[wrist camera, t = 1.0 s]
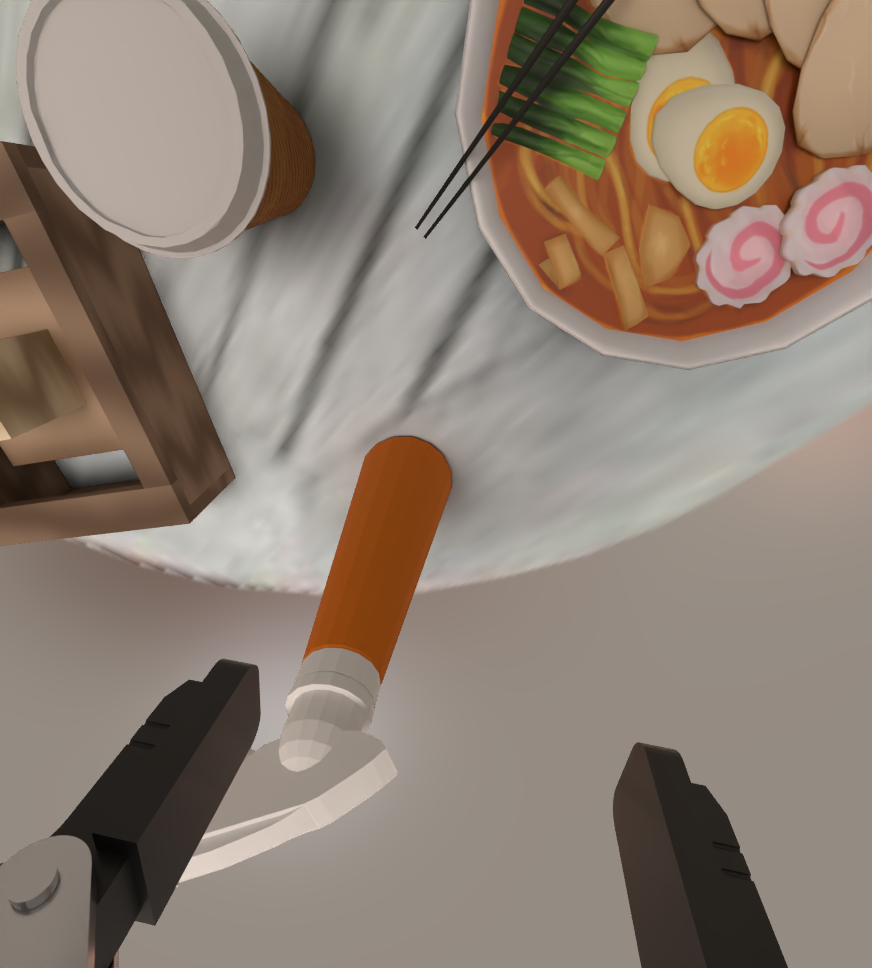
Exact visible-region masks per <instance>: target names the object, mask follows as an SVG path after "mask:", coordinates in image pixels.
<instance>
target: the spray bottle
mask: <svg viewBox="0 0 872 968" xmlns="http://www.w3.org/2000/svg"><path fill="white" fill-rule="evenodd" d="M451 488H452V479H451V470H450V468H449V466H448V464H447V462H446V460H445V458H444V456H443V455H442V454H441V453H440V452H439V451H438V450H437V449H435V448H434V447H433V446H432V445H431V444H430V443H428V442H425V441H422V440H419V439H417V438H414V437H392V438H389V439H387V440H385V441H382V442H380V443H378V444H376V445H375V446H374V447H373V448H372V449H371V451H370V452H369V453H368V454H367V455H366V456H365V459H364V462H363V465H362V469H361V472H360V475H359V478H358V482H357V485H356V488H355V492H354V495H353V498H352V501H351V505H350V508H349V511H348V514H347V518H346V521H345V524H344V527H343V531H342V534H341V537H340V540H339V544H338V547H337V550H336V553H335V557H334V560H333V563H332V566H331V570H330V573H329V576H328V580H327V583H326V586H325V589H324V593H323V596H322V599H321V602H320V606H319V609H318V612H317V615H316V619H315V622H314V625H313V628H312V632H311V635H310V639H309V642H308V645H307V648H306V651H305V654H304V658H303V661H302V664H301V667H300V670H299V672H298V674H297V677H296V679H295V681H294V684H293V686H292V688H291V691H290V693H289V695H288V699H287V702H286V705H285V708H286V711H287V714H288V718H287V720H286V723H285V726H284V728H283V731H282V734H281V737H280V739H278V740H276V741H273V742H270V743H268V744H265V745H263V746H262V747H260V748H259V749H258V750H256V751H255V750H252V749H251V748H250V749H249V751H248V753H247V755H246V757H245V759H244V761H243V763H242V764H241V766H240V768H239V770H238V772H237V774H236V776H235V777H234V779H233V781H232V783H231V785H230V787H229V789H228V791H227V792H226V794H225V796H224V798H223V800H222V802H221V804H220V806H219V807H218V809H217V811H216V813H215V815H214V817H213V819H212V820H211V822H210V824H209V826H208V828H207V830H206V832H205V834H204V835H203V837H202V839H201V841H200V843H199V845H198V847H197V848H196V850H195V852H194V854H193V856H192V858H191V860H190V862H189V863H188V865H187V867H186V869H185V871H184V873H183V875H182V876H181V878H180V880H179V882H178V884H177V886H176V888H177V887H179V884H180V882H183V881H186V880H189V879H192V878H195V877H198V876H201V875H205V874H208V873H211V872H214V871H217V870H220V869H223V868H226V867H229V866H231V865H233V864H236V863H238V862H240V861H243V860H245V859H247V858H250V857H252V856H255V855H257V854H259V853H262V852H264V851H266V850H269V849H271V848H273V847H276V846H277V845H280V844H282V843H284V842H286V841H288V840H289V839H292V838H294V837H297V836H299V835H301V834H304V833H307V832H309V831H313V830H316V829H319V828H322V827H324V826H325V825H327V824H330V823H332V822H333V821H335V820H337V819H338V818H340V817H341V816H343V815H344V814H346V813H347V812H349V811H350V810H351V809H353V808H354V807H356V806H357V805H359V804H360V803H362V802H363V801H364V800H366V799H368V798H369V797H370V796H372V795H373V794H375V793H376V792H377V791H378V790H380V789H381V788H382V787H384V786H385V785H386V784H387V783H388V782H389V781H390V780H392V779H393V778H394V777H395V776H396V775H397V774H398V772H397V770H396V768H395V766H394V764H393V762H392V760H391V758H390V755H389V753H388V751H387V749H386V747H385V746H384V744H383V743H382V741H380V740H379V739H377V738H375V737H373V736H372V735H369V734H367V733H366V732H367V731H368V728H369V726H370V724H371V722H372V717H373V713H374V709H375V705H376V701H377V697H378V692H379V688H380V685H381V683H382V681H383V678H384V675H385V673H386V670H387V667H388V664H389V661H390V659H391V656H392V653H393V650H394V647H395V644H396V642H397V639H398V636H399V633H400V631H401V628H402V625H403V622H404V619H405V617H406V614H407V611H408V608H409V605H410V603H411V600H412V597H413V594H414V591H415V589H416V586H417V583H418V580H419V577H420V575H421V572H422V569H423V566H424V563H425V561H426V558H427V555H428V552H429V549H430V547H431V544H432V541H433V538H434V535H435V533H436V530H437V527H438V524H439V521H440V519H441V516H442V513H443V510H444V507H445V505H446V502H447V499H448V496H449V493H450V491H451Z"/></svg>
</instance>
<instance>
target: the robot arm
mask: <svg viewBox="0 0 872 968" xmlns="http://www.w3.org/2000/svg"><path fill="white" fill-rule="evenodd" d="M259 721H260V690H259V670H258V667H257V666H256V665H253V664H248V663H243V662H238V661H233V660H228V659H221V660H219V661H218V662H217V663H216V664H215V665H214V667H213V668H212V669H211V671H210V672H209V674H208V675H207V676H206V678H205V679H204V680H203V682H198V681H193V680H188V681H187V682H185V683H184V684H182V685H181V686H180V687H178V688H177V689H176V690H174V691H173V692H171V693H170V694H168V695H167V696H165V697H164V698H163V700H162V701H161V702H160V703H159V705H158V706H157V707H156V709H155V710H154V711H153V712H152V713H151V715H150V716H149V717H148V719H147V720H146V723H145V725H142V726H141V727H140V728H139V730H138V731H137V732H136V734H135V735H134V736H133V737H132V739H131V741H130V743H129V745H126V746H125V747H124V748H123V750H122V751H121V752H120V754H119V755H118V756H117V757H116V759H115V760H114V761H113V762H112V764H111V765H110V766H109V767H108V769H107V770H106V771H105V772H104V774H103V775H102V776H101V777H100V779H99V780H98V781H97V782H96V784H95V785H94V786H93V787H92V789H91V790H90V791H89V792H88V794H87V795H86V796H85V797H84V799H83V800H82V801H81V802H80V804H79V805H78V806H77V807H76V809H75V810H74V811H73V812H72V814H71V815H70V816H69V817H68V819H67V820H66V821H65V822H64V823H63V824H62V826H61V827H60V828H59V829H58V830H57V831H56V832H55V833H54V834H52V835H51V836H50V837H48V838H45V839H42V840H39V841H37V842H35V843H32V844H30V845H28V846H27V847H25V848H23V849H21V850H20V851H18V852H17V853H16V854H14V855H13V856H11V857H10V858H9V859H8V860H7V861H5V862H4V863H1V864H0V968H119V951H118V949H119V948H120V946H121V944H122V942H123V941H124V939H125V937H126V935H127V934H128V932H129V930H130V928H131V927H132V925H133V923H134V921H138V922H142V923H147V924H151V925H156V923H157V921H158V919H159V917H160V916H161V914H162V912H163V910H164V908H165V906H166V904H167V903H168V901H169V899H170V897H171V895H172V893H173V891H174V890H175V888H176V886H177V884H178V882H179V880H180V878H181V876H182V875H183V873H184V871H185V869H186V867H187V865H188V863H189V862H190V860H191V858H192V856H193V854H194V852H195V850H196V848H197V847H198V845H199V843H200V841H201V839H202V837H203V835H204V834H205V832H206V830H207V828H208V826H209V824H210V822H211V820H212V819H213V817H214V815H215V813H216V811H217V809H218V807H219V806H220V804H221V802H222V800H223V798H224V796H225V794H226V792H227V791H228V789H229V787H230V785H231V783H232V781H233V779H234V777H235V776H236V774H237V772H238V770H239V768H240V766H241V764H242V763H243V761H244V759H245V757H246V755H247V753H248V751H249V749H250V748H251V746H252V743H253V741H254V739H255V736H256V733H257V730H258V726H259ZM613 816H614V817H613V818H614V825H615V831H616V836H617V841H618V846H619V852H620V857H621V862H622V867H623V872H624V878H625V882H626V888H627V894H628V899H629V904H630V909H631V914H632V920H633V925H634V930H635V935H636V940H637V946H638V951H639V957H640V961H641V967H642V968H788V967H787V964H786V962H785V959H784V956H783V954H782V951H781V949H780V946H779V944H778V941H777V939H776V937H775V934H774V931H773V929H772V926H771V924H770V921H769V919H768V916H767V914H766V912H765V909H764V906H763V904H762V901H761V899H760V896H759V894H758V891H757V889H756V887H755V884H754V882H753V881H751V879H750V875H751V874H750V871H749V869H748V866H747V864H746V861H745V859H744V856H743V854H741V853H740V846H739V844H738V842H737V839H736V836H735V834H734V831H733V829H732V826H731V824H730V821H729V819H728V816H727V814H726V813H725V812H724V811H723V809H722V808H721V806H720V805H719V804H718V803H717V801H716V799H715V798H714V797H713V795H712V794H711V793H710V791H709V790H708V789H707V787H706V786H703V785H699V784H693V783H691V781H690V778H689V776H688V773H687V770H686V767H685V764H684V762H683V759H682V757H681V755H680V754H679V752H678V751H676V750H674V749H669V748H664V747H659V746H654V745H649V744H644V743H639V742H638V743H636V744H635V745H634V747H633V749H632V751H631V753H630V756H629V758H628V760H627V763H626V765H625V768H624V770H623V772H622V775H621V777H620V779H619V782H618V784H617V787H616V789H615V793H614V800H613Z"/></svg>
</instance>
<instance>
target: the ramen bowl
mask: <svg viewBox="0 0 872 968" xmlns="http://www.w3.org/2000/svg"><path fill="white" fill-rule="evenodd" d="M455 117H456V121H457V126H458V131H459V136H460V141H461V146H462V151H463V157H462V158H461V160H460V161H459V163H458V164H457V165H456V167H455V168H454V170H453V171H452V173H451V174H450V176H449V177H448V179H447V180H446V182H445V183H444V185H443V186H442V188H441V189H440V191H439V192H438V194H437V195H436V197H435V198H434V200H433V201H432V203H431V204H430V206H429V207H428V209H427V210H426V212H425V213H424V215H423V216H422V218H421V219H420V221H419V222H418V224H417V225H416V227H415V228H416V229H418V228H419V227H420V225H421V224H422V222H423V221H424V219H425V218H426V217H427V215H428V214H429V212H430V211H431V209H432V208H433V207H434V205H435V204H436V202H437V201H438V200H439V198H440V197H441V195H442V194H443V192H444V191H445V190H446V188H447V187H448V185H449V184H450V182H451V181H452V180H453V178H454V177H455V175H456V174H457V172H458V171H459V170H460V168H461V167H462V165H463V164H464V163H465V165H466V170H467V175H468V179H467V180H466V181H465V183H464V184H463V185H462V187H461V188H460V189H459V191H458V192H457V193H456V194H455V196H454V197H453V198H452V200H451V201H450V202H449V204H448V205H447V206H446V208H445V209H444V210H443V212H442V213H441V214H440V216H439V217H438V218H437V220H436V221H435V222H434V224H433V225H432V226H431V227H430V229H429V230H428V231H427V233H426V234H425V235H424V238H425V239H426V238H427V236H428V235H429V234H430V233H431V231H432V230H433V229H434V228H435V226H436V225H437V224H438V223H439V221H440V220H441V219H442V218H443V216H444V215H445V214H446V213H447V211H448V210H449V209H450V208H451V206H452V205H453V204H454V203H455V201H456V200H457V199H458V197H459V196H460V195H461V194H462V192H463V191H464V190H465V189H466V187H467V186H468V185H470V189H471V194H472V199H473V204H474V209H475V214H476V219H477V223H478V228H479V230H480V231H481V233H482V234H483V236H484V237H485V239H486V241H487V242H488V244H489V245H490V247H491V249H492V250H493V252H494V253H495V255H496V257H497V258H498V260H499V261H500V263H501V264H502V266H503V268H504V269H505V271H506V272H507V274H508V276H509V277H510V279H511V280H512V282H513V284H514V285H515V287H516V288H517V290H518V292H519V293H520V295H521V296H522V298H523V299H524V301H525V303H526V304H527V306H528V307H529V309H531V310H532V311H534V312H535V313H537V314H538V315H540V316H541V317H543V318H545V319H546V320H548V321H549V322H551V323H552V324H554V325H556V326H557V327H559V328H560V329H562V330H563V331H565V332H566V333H568V334H570V335H571V336H573V337H574V338H576V339H577V340H579V341H580V342H582V343H584V344H585V345H587V346H588V347H590V348H591V349H593V350H594V351H596V352H598V353H599V354H601V355H603V356H609V357H615V358H621V359H627V360H633V361H639V362H645V363H651V364H657V365H663V366H669V367H675V368H681V369H687V370H690V369H695V368H699V367H704V366H708V365H713V364H717V363H722V362H727V361H731V360H736V359H740V358H745V357H749V356H754V355H758V354H763V353H768V352H772V351H777V350H781V349H786V348H787V347H789V346H791V345H793V344H794V343H796V342H798V341H800V340H802V339H803V338H805V337H807V336H809V335H811V334H812V333H814V332H816V331H818V330H819V329H821V328H823V327H825V326H827V325H828V324H830V323H832V322H834V321H836V320H837V319H839V318H841V317H843V316H844V315H846V314H848V313H850V312H852V311H853V310H855V309H857V308H859V307H860V306H862V305H864V304H866V303H868V302H869V301H871V300H872V0H470V4H469V12H468V19H467V27H466V35H465V42H464V50H463V58H462V65H461V73H460V81H459V88H458V96H457V104H456V111H455Z"/></svg>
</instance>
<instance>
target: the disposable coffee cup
mask: <svg viewBox="0 0 872 968" xmlns="http://www.w3.org/2000/svg"><path fill="white" fill-rule="evenodd" d="M16 67H17V87H18V91H19V96H20V100H21V105H22V109H23V114H24V118H25V121H26V124H27V127H28V129H29V132H30V135H31V138H32V140H33V143H34V145H35V147H36V149H37V151H38V153H39V155H40V157H41V159H42V161H43V163H44V164H45V166H46V167H47V169H48V170H49V172H50V174H51V175H52V177H53V178H54V180H55V182H56V183H57V185H58V186H59V187H60V188H61V189H62V190H63V191H64V193H65V194H66V195H67V196H68V197H69V198H70V199H71V201H72V202H73V203H74V204H75V205H76V206H77V208H78V209H80V210H81V211H82V212H83V213H85V214H86V215H87V216H88V217H90V218H91V219H92V220H93V221H95V222H96V223H97V224H98V225H100V226H101V227H102V228H103V229H105V230H107V231H109V232H111V233H113V234H115V235H117V236H118V237H119V238H121V239H122V240H124V241H125V242H127V243H129V244H131V245H133V246H135V247H137V248H139V249H141V250H143V251H146V252H149V253H153V254H157V255H161V256H165V257H169V258H193V257H197V256H201V255H205V254H209V253H213V252H215V251H218V250H219V249H221V248H223V247H224V246H226V245H227V244H229V243H230V242H232V241H233V240H235V239H236V238H237V237H239V236H240V235H241V233H242V232H243V231H245V230H246V229H250V228H253V227H255V226H257V225H259V224H262V223H264V222H267V221H270V220H272V219H275V218H278V217H281V216H283V215H286V214H288V213H290V212H292V211H293V210H295V209H296V208H297V207H298V206H300V205H301V203H302V202H303V200H304V199H305V198H306V196H307V195H308V193H309V190H310V188H311V186H312V182H313V178H314V172H315V155H314V148H313V144H312V140H311V137H310V134H309V132H308V130H307V128H306V125H305V123H304V122H303V120H302V118H301V117H300V115H299V114H298V113H297V111H296V110H295V109H294V108H293V107H292V106H291V105H290V104H289V103H288V102H287V101H286V100H285V99H284V97H283V96H282V95H281V94H280V93H279V92H278V91H277V90H276V89H275V88H274V87H273V86H272V84H271V83H270V82H269V81H268V80H267V79H266V78H265V77H264V76H263V75H262V74H261V73H260V71H259V70H258V69H257V68H256V67H255V66H254V65H253V64H252V62H251V61H250V60H249V58H248V56H247V54H246V52H245V50H244V48H243V46H242V44H241V42H240V40H239V39H238V37H237V36H236V35H235V33H234V32H233V31H232V29H231V28H230V27H229V25H228V24H227V22H226V21H225V20H224V18H223V17H222V16H221V15H220V13H219V12H218V11H217V10H216V9H215V8H214V7H213V6H212V5H211V4H210V3H209V2H208V1H207V0H32V1H31V4H30V6H29V9H28V11H27V13H26V16H25V19H24V22H23V24H22V27H21V30H20V33H19V36H18V46H17V56H16Z"/></svg>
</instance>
